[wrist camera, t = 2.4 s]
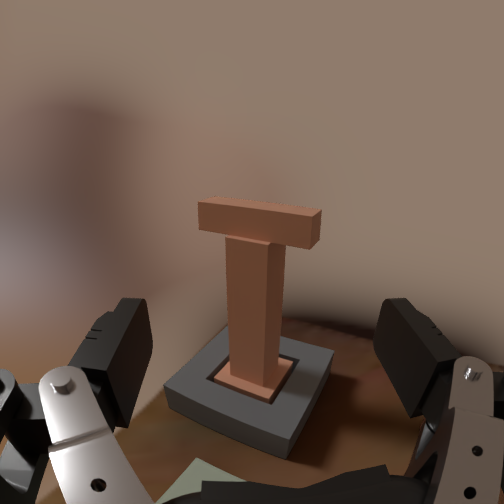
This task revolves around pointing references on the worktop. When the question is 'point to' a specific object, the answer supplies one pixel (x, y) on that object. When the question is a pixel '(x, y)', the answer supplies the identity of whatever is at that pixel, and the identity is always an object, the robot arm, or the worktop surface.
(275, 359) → the t key
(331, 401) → the worktop surface
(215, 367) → the socket block
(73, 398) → the robot arm
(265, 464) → the worktop surface
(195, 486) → the mat
